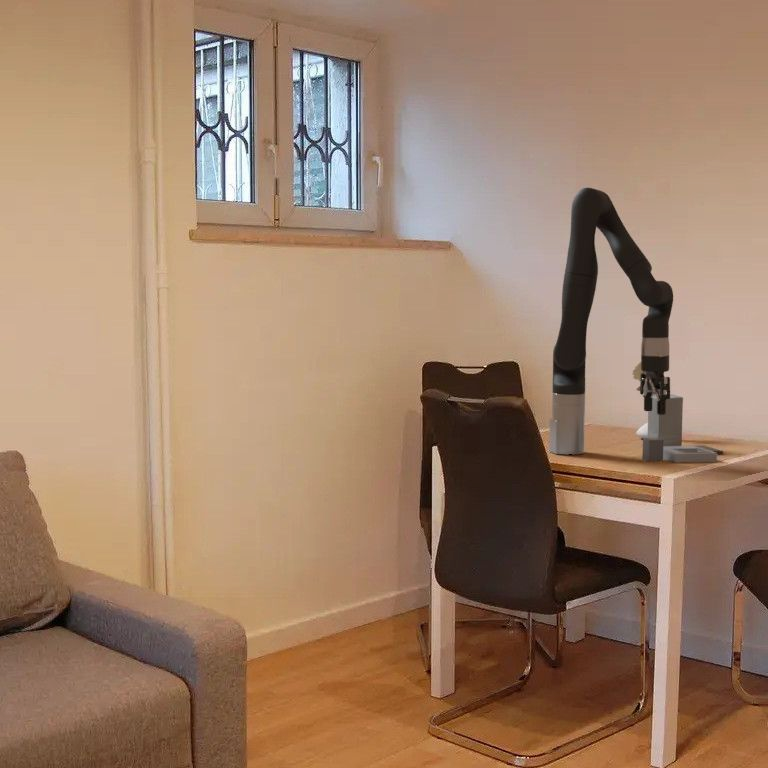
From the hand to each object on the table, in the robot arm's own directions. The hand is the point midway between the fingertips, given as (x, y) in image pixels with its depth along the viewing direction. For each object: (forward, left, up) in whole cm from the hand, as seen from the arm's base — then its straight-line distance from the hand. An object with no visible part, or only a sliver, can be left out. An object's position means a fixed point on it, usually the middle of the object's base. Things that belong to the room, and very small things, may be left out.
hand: (654, 412), depth 307 cm
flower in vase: (+17, +40, -13) cm, 45 cm away
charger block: (0, 0, -13) cm, 13 cm away
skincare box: (+12, +20, -13) cm, 27 cm away
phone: (+21, +13, -13) cm, 28 cm away
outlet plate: (+10, +2, -13) cm, 17 cm away
